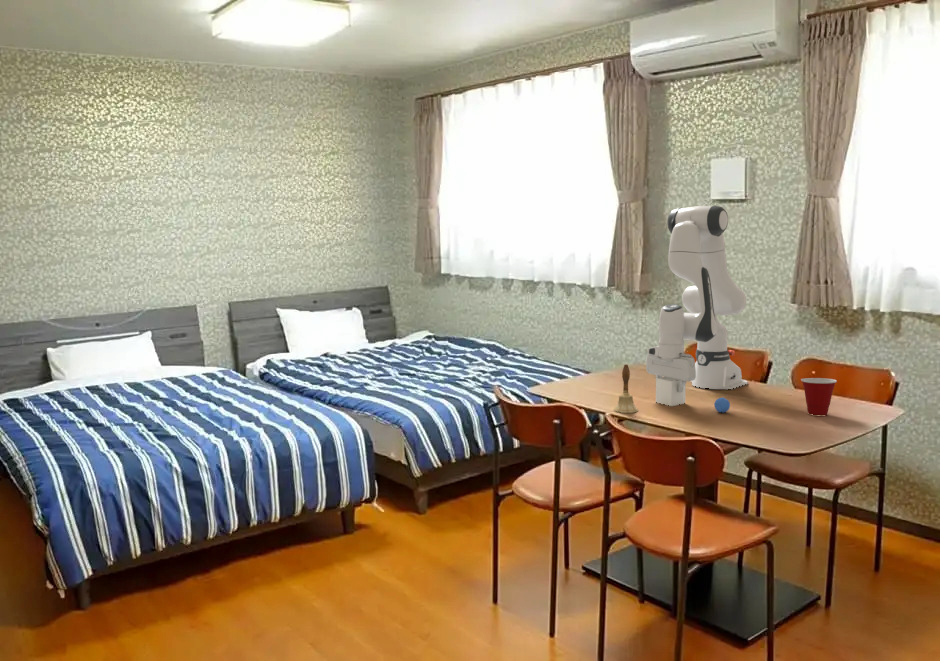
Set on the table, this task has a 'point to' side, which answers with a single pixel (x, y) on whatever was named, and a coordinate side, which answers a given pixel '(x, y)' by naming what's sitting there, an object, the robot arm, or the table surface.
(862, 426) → the table surface
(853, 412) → the table surface
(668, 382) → the white cube block
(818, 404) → the plastic cup
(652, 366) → the robot arm
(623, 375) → the hand bell
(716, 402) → the ball
